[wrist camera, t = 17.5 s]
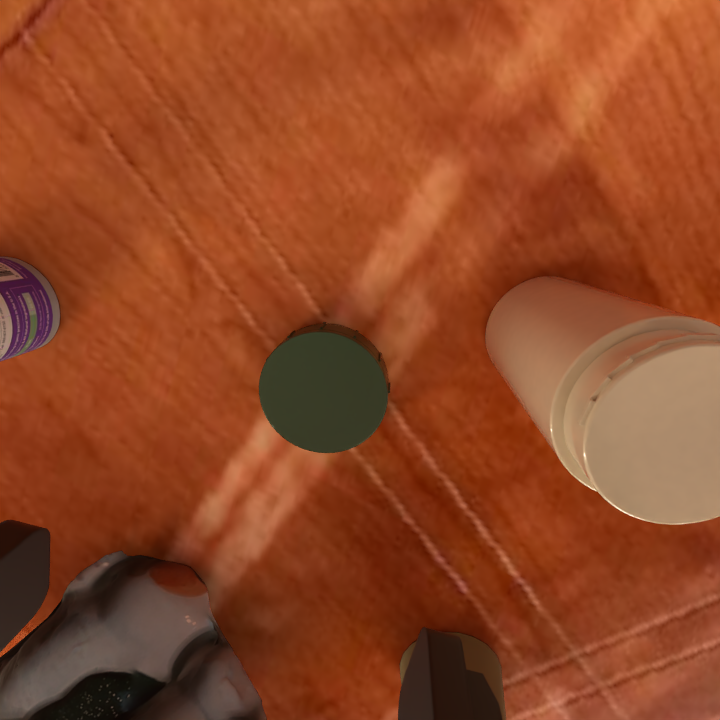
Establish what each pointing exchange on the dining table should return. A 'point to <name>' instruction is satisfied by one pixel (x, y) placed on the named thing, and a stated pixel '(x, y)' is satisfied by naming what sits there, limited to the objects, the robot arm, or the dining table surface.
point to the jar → (617, 393)
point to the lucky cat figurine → (128, 651)
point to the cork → (473, 664)
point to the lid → (324, 388)
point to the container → (25, 308)
